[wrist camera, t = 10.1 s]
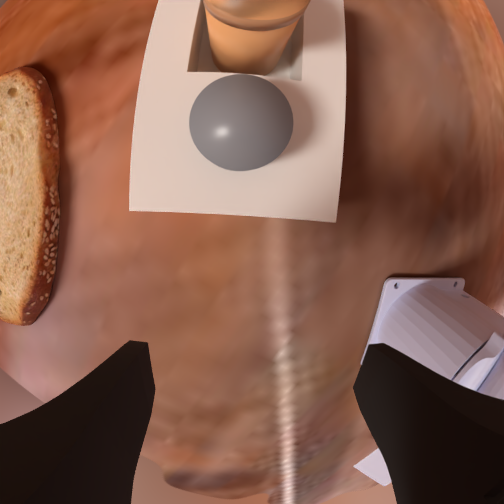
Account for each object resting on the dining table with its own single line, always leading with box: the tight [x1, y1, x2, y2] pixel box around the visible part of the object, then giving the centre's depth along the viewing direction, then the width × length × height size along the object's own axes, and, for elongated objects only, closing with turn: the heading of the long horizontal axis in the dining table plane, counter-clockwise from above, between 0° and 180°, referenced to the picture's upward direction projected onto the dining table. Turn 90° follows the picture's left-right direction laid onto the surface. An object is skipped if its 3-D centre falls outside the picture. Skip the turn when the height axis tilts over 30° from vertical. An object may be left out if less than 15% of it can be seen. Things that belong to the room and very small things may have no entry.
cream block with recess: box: [129, 0, 346, 223], centre depth 11 cm, size 10×14×6 cm
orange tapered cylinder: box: [203, 0, 311, 76], centre depth 9 cm, size 4×4×7 cm
